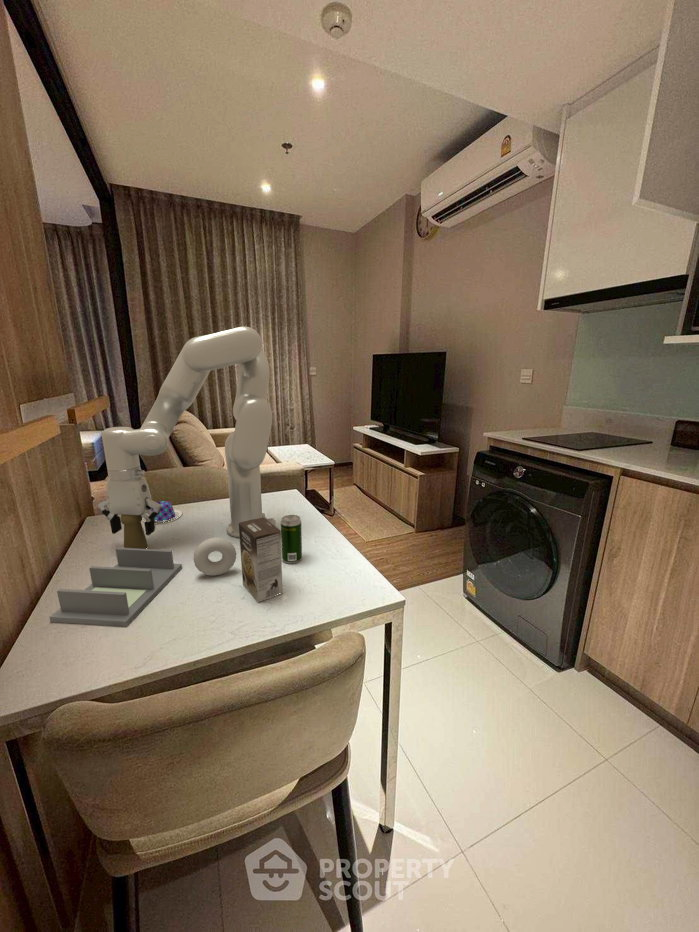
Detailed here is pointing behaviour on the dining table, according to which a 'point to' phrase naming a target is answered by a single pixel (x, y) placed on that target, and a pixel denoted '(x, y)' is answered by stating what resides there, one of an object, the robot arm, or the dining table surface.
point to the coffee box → (261, 558)
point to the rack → (118, 589)
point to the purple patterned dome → (166, 511)
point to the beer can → (291, 539)
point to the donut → (211, 546)
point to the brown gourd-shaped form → (133, 532)
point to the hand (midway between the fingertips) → (133, 532)
